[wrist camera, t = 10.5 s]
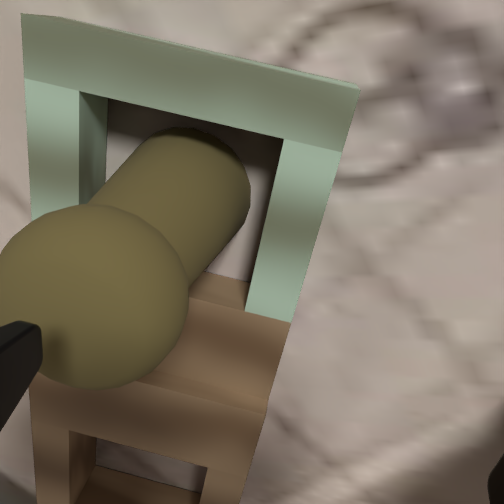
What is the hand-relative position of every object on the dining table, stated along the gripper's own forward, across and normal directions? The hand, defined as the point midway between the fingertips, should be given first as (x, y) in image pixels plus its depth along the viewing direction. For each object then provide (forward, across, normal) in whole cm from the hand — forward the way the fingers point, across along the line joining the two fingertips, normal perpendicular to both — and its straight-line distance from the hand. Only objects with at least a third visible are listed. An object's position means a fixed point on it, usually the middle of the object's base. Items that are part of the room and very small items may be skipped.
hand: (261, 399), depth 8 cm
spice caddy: (+13, +6, +10) cm, 17 cm away
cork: (+13, +5, +1) cm, 14 cm away
